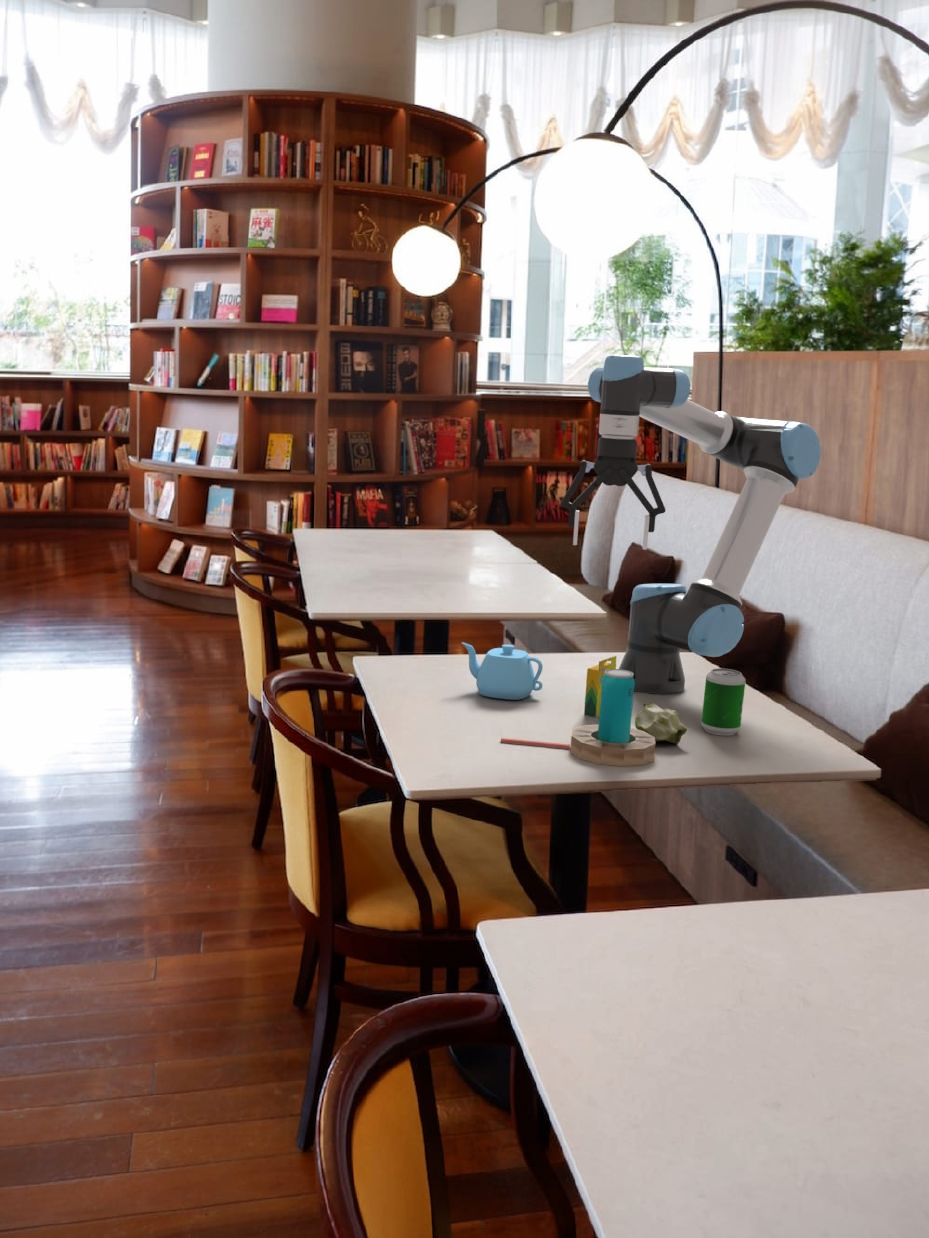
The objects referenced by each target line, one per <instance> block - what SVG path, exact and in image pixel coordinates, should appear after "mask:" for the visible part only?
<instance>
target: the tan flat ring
mask: <svg viewBox="0 0 929 1238" xmlns="http://www.w3.org/2000/svg"><path fill="white" fill-rule="evenodd" d="M598 725H599V723H598V724H586V725H581V726H579V727H576V728H572V731H571V737H570V749H569V751H570V753H571V754H573V755H575V756H576V757H578V758H579V759H581V760H584V761H589V762H591V763H594V764H599V765H604V766H605V765H606V766H617V767H630V766H631V767H632V766H643V765H646V764H648V763H651V762H652V761H655V754H656V753H655V752H656V751H655V750H656V742H655V737H653V736H651V735H650V734H648V733H646V732H644V731H641V730H638V729H637V728H634V727H630V738H629V743H621V744H618V743H608V742H604V741H600V740H597V737H598Z"/></svg>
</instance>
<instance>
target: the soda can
mask: <svg viewBox="0 0 929 1238" xmlns="http://www.w3.org/2000/svg"><path fill="white" fill-rule="evenodd" d="M704 684H705V685H704V693H703V694H704V695H703V704H702V711H701V712H702V714H701V726H702V727H703V728H704V730H705V731H706V733H709V734H712V735H717V736H722V737H723V736H724V737H725V736H728V737H729V736H734V735H736V733H737V732H738V731H740V729H741V725H742V716H743V706H744V705H743V704H744V697H745V689H746V678H745V677H744V675H743V674H742V672H741V671H738V670H735V669H731V668H722V667H720V668H719V667H718V668H713V669H711V671H710V672H708V673H706V675H705V683H704Z"/></svg>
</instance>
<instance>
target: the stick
mask: <svg viewBox="0 0 929 1238" xmlns="http://www.w3.org/2000/svg"><path fill="white" fill-rule="evenodd" d="M500 743H503V744H504V743H506V744H515V745H524V746H525V745H526V746H534V747H535V746H536V747H546V748H555V749H557V748H558V749H565V750H570V748H571V743H570V744H569V743H568V744H567V743H559V742H558V743H557V742H547V741H538V740H526V739H519V738H518V739H516V738H509V737H507V738H506V737H505V738H504V737H501V738H500Z"/></svg>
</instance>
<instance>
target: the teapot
mask: <svg viewBox="0 0 929 1238" xmlns="http://www.w3.org/2000/svg"><path fill="white" fill-rule="evenodd" d="M461 644H462V645H463V646H464V647H465V649H466V650H467V653H468V665H469V666H468V667H469V672H470V674H471V675H472V676H473V677H474V679H476V688H477V690H478V692H479V694H480V695H481V696H484V697H487V698H494V699H499V700H501V699H502V700H513V701H514V700H515V701H518V700H523V699H525V698H527V697H528V696H530V694H531V693H532V692H533V691H536V692H538V691H541V690H542V689H543V683H542V681H540V680H539V678H540V676H541V674H542V671H543V663H542V661H541V660H540V659H539V658H537V657H536V656H530V655H529V653H528V652H527V651H526V650H522V649H516V648H515V645H513V644H502V645H501V647H496V648H495V647H494V648H492V649H490V650H488V651H487V652H486V654H485V656H484V658H483V659H482V662H481V664H480V663H479V662H478V660H477V655H476V649H475V648H474V647H473V645H471V644H469V643H467V642H464V641H463V642H461ZM532 662H535V663H536V664H537V665H538V666H537V667H538V668H537V672H536V674H535V672H534V668H533V664H532ZM537 684H538V685H539V686H536V685H537Z"/></svg>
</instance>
